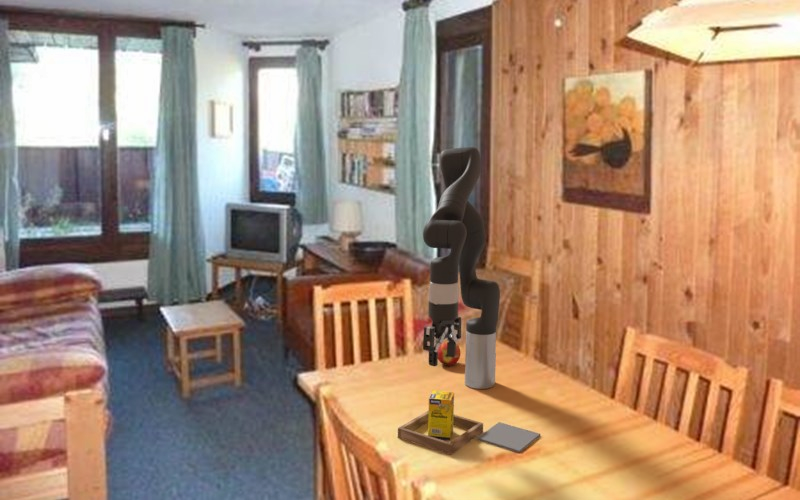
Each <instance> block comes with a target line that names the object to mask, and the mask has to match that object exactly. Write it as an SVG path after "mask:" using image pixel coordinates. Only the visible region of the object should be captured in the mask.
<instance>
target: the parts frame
mask: <svg viewBox="0 0 800 500" xmlns="http://www.w3.org/2000/svg"><path fill="white" fill-rule="evenodd" d="M428 416H429V410H427V411H425V412H424V413H422V414H420V415H418V416H417V417H415V418H413V419H411V420H410V421H408V422H406V423H404V424H403V425H401V426H399V427H397V438H398V439H401V440H405V441H408V442H410V443H411V442H412V443H414V444H417V445H420V446H423V447H426V448H430V449H432V450H435V451H438V452H441V453H444V454H446V455H447V454H448V455H452V454H454V453H455V452H457V451H458V450H460V449H461V448H463V447H464V446H466V445H467V444H468V443H470V442H471V441H472V440H474V439H475V438H477V437H479V436H480V435H481V434H483V433H484V422H481V421H477V420H474V419H471V418H467V417H464V416H459V415H456V414H454V416H453V427H454V426H455V427H458V428H461V429H465V430H466V431H465V432H463V433H461V434H460V435H459V436H458V437H456V438H455V439H453V440H450V442H449V441H447V440H441V439H437V438H434V437H430V436H428V434H427V435H426V434H424V433H422V432H421V433H420V432H417V431H415V430H418V429H420V428H421V427H422V426H424V425H426V424H428Z"/></svg>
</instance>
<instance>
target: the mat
mask: <svg viewBox="0 0 800 500" xmlns="http://www.w3.org/2000/svg"><path fill="white" fill-rule="evenodd" d="M539 437H541V433H538V432H535V431H532V430H528V429H526V428H523V427H517V426H515V425H511V424H507V423H504V422H500V421H499V422H497V423H496V424H494V425H493V426H491V427H490V428H489V429H488V430H486V431H483V432H482V433H481V434H480V435H478V436H477V437H476V440H477V441H479V442H481V443H486V444H488V445H489V444H490V445H492V446H495V447H499V448H502V449H506V450H509V451H512V452H515V453H518V454H519V453H521V452H523V451H524V450H525V449H526V448H527V447H529V446H530V445H531V444H532V443H533V442H535V441H536V440H537V439H538V438H539Z"/></svg>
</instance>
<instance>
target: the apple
mask: <svg viewBox="0 0 800 500" xmlns="http://www.w3.org/2000/svg"><path fill="white" fill-rule="evenodd" d="M447 342H449V341H447V340H446V341H443V342H442V344H440V345H439V348H438V351H437V352H438V362H440V363H441V364H442V365H445V366H453V365H455V364H457V362H459V360H460V358H461V349H460V346H459V345H458V344H457V343H456V356H455V357H448V356H447Z"/></svg>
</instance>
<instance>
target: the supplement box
mask: <svg viewBox="0 0 800 500" xmlns="http://www.w3.org/2000/svg"><path fill="white" fill-rule="evenodd" d="M454 404H455V392H454V391H446V390H444V391H443V390H436V389H435V390H432V391H431V393H430V395H429V397H428V411H429V416H428V422H427V424H428V425H427V426H428V427H427V430H428V431H427V436H430V437H434V438H437V439H440V440H443V441H451V438H452V435H453V432H454V425H453V416H454V415H455V414H454V411H455V410H454V409H455V408H454V407H455V405H454Z"/></svg>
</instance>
